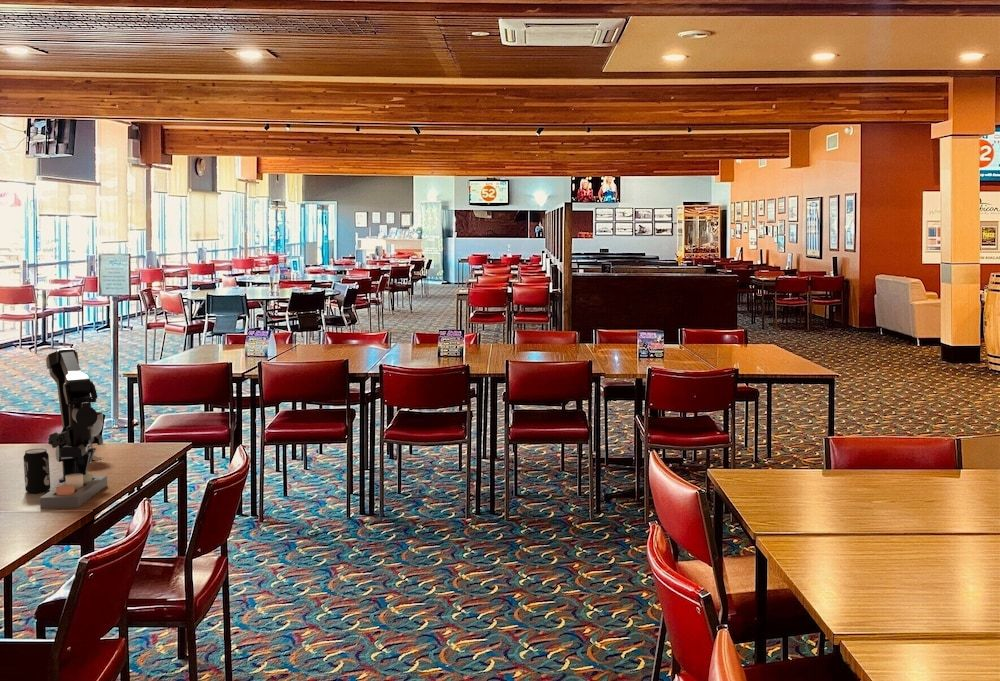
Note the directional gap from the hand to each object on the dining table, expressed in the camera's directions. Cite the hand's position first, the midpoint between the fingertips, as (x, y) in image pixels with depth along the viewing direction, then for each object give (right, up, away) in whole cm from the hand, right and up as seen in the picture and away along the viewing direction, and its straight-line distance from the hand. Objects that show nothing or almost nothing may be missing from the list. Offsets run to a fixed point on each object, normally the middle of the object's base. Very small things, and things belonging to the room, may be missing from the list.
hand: (83, 474), depth 297 cm
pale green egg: (0, -4, 0) cm, 4 cm away
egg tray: (0, -5, -7) cm, 8 cm away
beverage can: (-13, -5, 0) cm, 14 cm away
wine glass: (-14, 0, +42) cm, 44 cm away
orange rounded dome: (+1, -6, -14) cm, 15 cm away
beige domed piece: (0, -4, -7) cm, 8 cm away
